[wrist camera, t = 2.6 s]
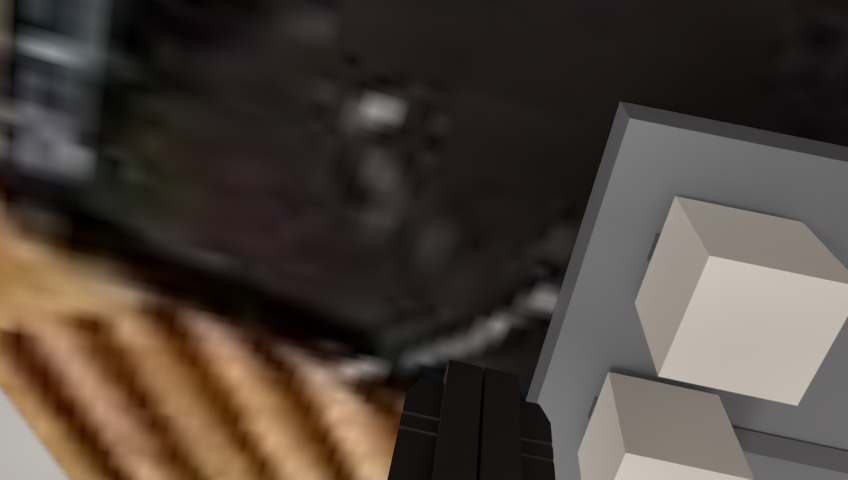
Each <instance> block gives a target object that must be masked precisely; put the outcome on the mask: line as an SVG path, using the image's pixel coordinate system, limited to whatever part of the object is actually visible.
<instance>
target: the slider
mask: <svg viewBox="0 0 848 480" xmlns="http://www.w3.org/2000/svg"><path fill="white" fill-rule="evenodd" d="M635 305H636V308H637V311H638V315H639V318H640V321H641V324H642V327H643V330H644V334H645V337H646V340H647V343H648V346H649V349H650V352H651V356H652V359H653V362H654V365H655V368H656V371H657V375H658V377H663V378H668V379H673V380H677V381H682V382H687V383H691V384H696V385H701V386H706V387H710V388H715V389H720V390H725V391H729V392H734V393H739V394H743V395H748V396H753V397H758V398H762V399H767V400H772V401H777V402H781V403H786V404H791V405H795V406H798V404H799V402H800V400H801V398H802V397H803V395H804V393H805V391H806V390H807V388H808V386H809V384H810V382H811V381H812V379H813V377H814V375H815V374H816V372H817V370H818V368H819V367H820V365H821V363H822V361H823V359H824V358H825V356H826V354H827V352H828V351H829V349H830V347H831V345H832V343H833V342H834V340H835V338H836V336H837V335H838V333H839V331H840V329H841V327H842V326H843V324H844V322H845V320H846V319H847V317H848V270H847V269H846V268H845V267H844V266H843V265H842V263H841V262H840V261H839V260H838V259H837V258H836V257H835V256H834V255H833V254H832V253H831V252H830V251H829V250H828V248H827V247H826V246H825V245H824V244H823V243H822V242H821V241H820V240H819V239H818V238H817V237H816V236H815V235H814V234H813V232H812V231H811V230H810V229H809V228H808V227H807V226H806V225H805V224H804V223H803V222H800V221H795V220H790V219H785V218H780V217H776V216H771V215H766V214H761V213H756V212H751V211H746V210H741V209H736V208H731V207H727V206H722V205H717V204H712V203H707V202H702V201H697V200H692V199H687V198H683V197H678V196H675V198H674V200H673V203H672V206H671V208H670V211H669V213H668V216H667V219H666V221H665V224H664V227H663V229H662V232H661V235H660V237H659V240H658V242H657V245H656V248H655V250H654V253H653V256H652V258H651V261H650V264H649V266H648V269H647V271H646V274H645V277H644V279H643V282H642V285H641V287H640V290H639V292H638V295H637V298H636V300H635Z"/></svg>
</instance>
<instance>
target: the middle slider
mask: <svg viewBox="0 0 848 480" xmlns="http://www.w3.org/2000/svg"><path fill="white" fill-rule="evenodd" d="M578 458H579V466H580V474H581V480H755V479H754V477H753V474H752V472H751V470H750V467H749V465H748V463H747V460H746V458H745V456H744V453H743V451H742V449H741V446H740V444H739V442H738V439H737V437H736V435H735V432H734V430H733V428H732V425H731V423H730V421H729V418H728V416H727V414H726V411H725V409H724V407H723V404H722V402H721V400H720V397H719V395H716V394H711V393H707V392H702V391H697V390H692V389H688V388H683V387H678V386H673V385H669V384H664V383H659V382H655V381H650V380H645V379H640V378H636V377H631V376H626V375H622V374H617V373H612V372H608V374H607V377H606V379H605V382H604V385H603V387H602V390H601V393H600V395H599V398H598V400H597V403H596V406H595V408H594V411H593V414H592V416H591V419H590V422H589V424H588V427H587V429H586V432H585V435H584V437H583V440H582V443H581V445H580V448H579V451H578Z"/></svg>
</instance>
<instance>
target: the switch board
mask: <svg viewBox="0 0 848 480" xmlns="http://www.w3.org/2000/svg"><path fill="white" fill-rule="evenodd" d="M675 196H678V197H683V198H687V199H692V200H697V201H702V202H707V203H712V204H717V205H722V206H727V207H731V208H736V209H741V210H746V211H751V212H756V213H761V214H766V215H771V216H776V217H780V218H785V219H790V220H795V221H800V222H803V223H804V224H805V225H806V226H807V227H808V228H809V229H810V230H811V231H812V232H813V234H814V235H815V236H816V237H817V238H818V239H819V240H820V241H821V242H822V243H823V244H824V245H825V246H826V247H827V248H828V250H829V251H830V252H831V253H832V254H833V255H834V256H835V257H836V258H837V259H838V260H839V261H840V262H841V263H842V265H843V266H844V267H845V268H846V269H847V270H848V147H845V146H840V145H835V144H830V143H825V142H820V141H815V140H810V139H805V138H800V137H795V136H790V135H786V134H781V133H776V132H771V131H766V130H761V129H756V128H751V127H746V126H741V125H736V124H731V123H726V122H721V121H716V120H711V119H706V118H701V117H696V116H691V115H686V114H681V113H676V112H671V111H666V110H661V109H656V108H651V107H646V106H641V105H636V104H631V103H626V102H621V101H620V103H619V106H618V109H617V112H616V116H615V119H614V122H613V125H612V128H611V131H610V135H609V138H608V141H607V144H606V147H605V151H604V154H603V157H602V160H601V163H600V166H599V170H598V173H597V176H596V179H595V182H594V186H593V189H592V192H591V195H590V198H589V201H588V205H587V208H586V211H585V214H584V217H583V220H582V224H581V227H580V230H579V233H578V236H577V240H576V243H575V246H574V249H573V252H572V255H571V259H570V262H569V265H568V268H567V271H566V275H565V278H564V281H563V284H562V287H561V290H560V294H559V297H558V300H557V303H556V306H555V309H554V313H553V316H552V319H551V322H550V325H549V329H548V332H547V335H546V338H545V341H544V344H543V348H542V351H541V354H540V357H539V360H538V363H537V367H536V370H535V373H534V376H533V379H532V383H531V386H530V389H529V392H528V395H527V398H526V401H528V402H532V403H537V404H540V406H541V408H542V409H543V411H544V413H545V414H546V416H547V418H548V419H549V421H550V423H551V432H552V447H553V455H554V460H553V463H554V467H555V479H556V480H581V474H580V466H579V458H578V451H579V448H580V445H581V443H582V440H583V437H584V435H585V432H586V429H587V427H588V424H589V422H590V419H591V416H592V414H593V411H594V408H595V406H596V403H597V400H598V398H599V395H600V393H601V390H602V387H603V385H604V382H605V379H606V377H607V374H608V372H612V373H617V374H622V375H626V376H631V377H636V378H640V379H645V380H650V381H655V382H659V383H664V384H669V385H673V386H678V387H683V388H688V389H692V390H697V391H702V392H707V393H711V394H716V395H719V397H720V400H721V402H722V404H723V407H724V409H725V411H726V414H727V416H728V418H729V421H730V423H731V425H732V428H733V430H734V432H735V435H736V437H737V439H738V442H739V444H740V446H741V449H742V451H743V453H744V456H745V458H746V460H747V463H748V465H749V467H750V470H751V472H752V474H753V477H754V479H755V480H848V317H847V319H846V320H845V322H844V324H843V326H842V327H841V329H840V331H839V333H838V335H837V336H836V338H835V340H834V342H833V343H832V345H831V347H830V349H829V351H828V352H827V354H826V356H825V358H824V359H823V361H822V363H821V365H820V367H819V368H818V370H817V372H816V374H815V375H814V377H813V379H812V381H811V382H810V384H809V386H808V388H807V390H806V391H805V393H804V395H803V397H802V398H801V400H800V402H799V404H798V406H795V405H791V404H786V403H781V402H777V401H772V400H767V399H762V398H758V397H753V396H748V395H743V394H739V393H734V392H729V391H725V390H720V389H715V388H710V387H706V386H701V385H696V384H691V383H687V382H682V381H677V380H673V379H668V378H663V377H658V375H657V371H656V368H655V365H654V362H653V359H652V356H651V352H650V349H649V346H648V343H647V340H646V337H645V334H644V330H643V327H642V324H641V321H640V318H639V315H638V311H637V308H636V305H635V300H636V298H637V295H638V292H639V290H640V287H641V285H642V282H643V279H644V277H645V274H646V271H647V269H648V266H649V264H650V261H651V258H652V256H653V253H654V250H655V248H656V245H657V242H658V240H659V237H660V235H661V232H662V229H663V227H664V224H665V221H666V219H667V216H668V213H669V211H670V208H671V206H672V203H673V200H674V198H675Z"/></svg>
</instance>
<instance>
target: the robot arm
mask: <svg viewBox="0 0 848 480" xmlns="http://www.w3.org/2000/svg"><path fill="white" fill-rule="evenodd" d="M553 460H554V455H553V447H552V432H551V423H550V421H549V419H548V418H547V416H546V414H545V413H544V411H543V409H542V408H541V406H540V404H537V403H532V402H528V401H523V400H520V385H519V375H518V374H513V373H508V372H504V371H499V370H494V369H490V368H484V370H483V372H482V367H480V366H475V365H471V364H466V363H461V362H457V361H452V360H449V361H448V364H447V368H446V372H445V376H444V380H443V383H439V382H434V381H430V380H425V379H421V378H420V379H419V380H418V381H417V382H416V383H415V384H414V385H413V386H412V387H411V388H410V389H409V390H408V391H407V393H406V397H405V402H404V407H403V411H402V416H401V420H400V425H399V430H398V434H397V439H396V443H395V448H394V453H393V457H392V462H391V466H390V471H389V476H388V480H556V479H555V467H554V463H553Z"/></svg>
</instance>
